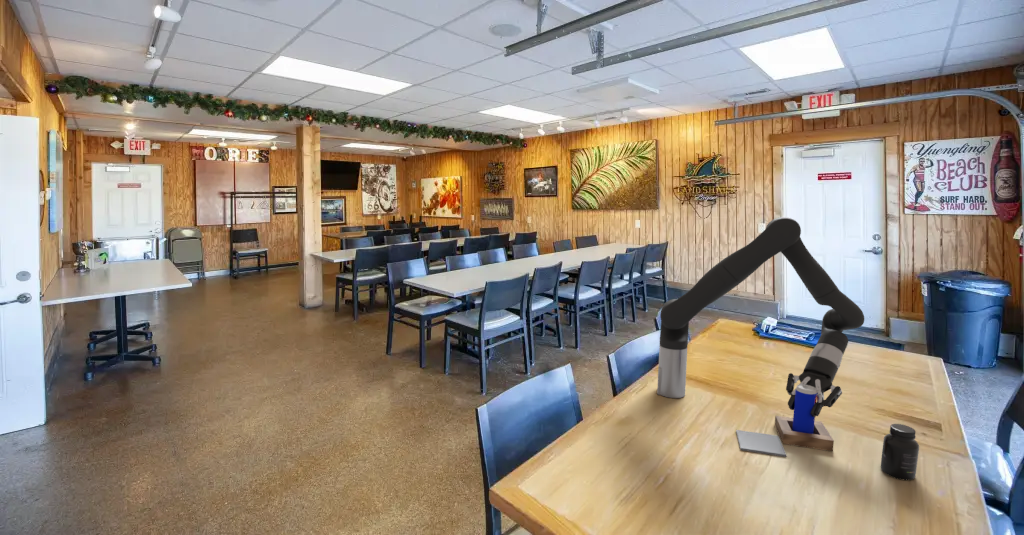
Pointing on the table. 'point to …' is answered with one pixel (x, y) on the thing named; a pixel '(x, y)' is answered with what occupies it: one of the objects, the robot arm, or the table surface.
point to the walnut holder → (804, 435)
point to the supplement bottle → (900, 452)
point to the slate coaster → (760, 443)
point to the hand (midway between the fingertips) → (801, 411)
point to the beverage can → (804, 409)
